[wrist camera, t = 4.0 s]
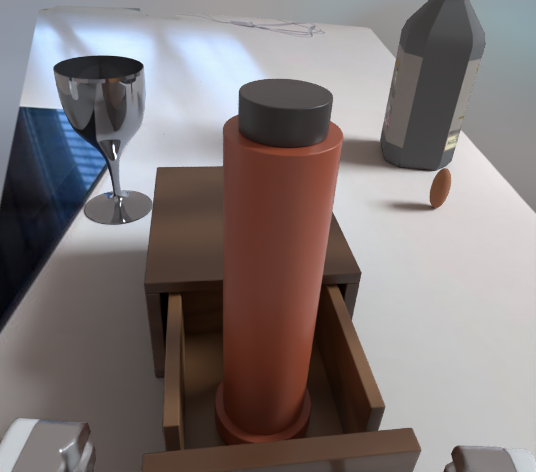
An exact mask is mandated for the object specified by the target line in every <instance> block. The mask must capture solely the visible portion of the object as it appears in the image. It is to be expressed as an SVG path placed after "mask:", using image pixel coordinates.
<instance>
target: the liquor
mask: <svg viewBox="0 0 536 472" xmlns="http://www.w3.org/2000/svg"><path fill="white" fill-rule="evenodd" d="M484 48H485V33H484V31H483V29H482V27H481V25H480V22H479V20H478V18H477V16H476V14H475V12H474V9H473V7H472V5H471V3H470V1H469V0H429V1H428V2H427V3H425V4H424V5H423V6H422V7H421V8H420V9H419V10H418V11H417V12H416V13H414V14H413V15H412V16H411V17H410V18H409V19H408V20H407V21H406V23H405V25H404V27H403V29H402V32H401V37H400V42H399V47H398V52H397V57H396V62H395V67H394V73H393V78H392V83H391V88H390V93H389V98H388V103H387V108H386V113H385V118H384V123H383V128H382V134H381V139H380V140H381V145H382V150H383V154H384V158H385V160H386V161H388V162H390V163H392V164H394V165H396V166H398V167H405V168H415V169H426V170H438V169H440V168H442V167H445V166H447V165H448V164H449V163H450V162H451V160H452V157H453V154H454V150H455V147H456V143H457V140H458V137H459V133H460V130H461V126H462V123H463V119H464V116H465V113H466V109H467V106H468V102H469V99H470V96H471V92H472V89H473V85H474V82H475V78H476V75H477V71H478V68H479V65H480V61H481V58H482V55H483V51H484Z"/></svg>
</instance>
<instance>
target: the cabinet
mask: <svg viewBox="0 0 536 472" xmlns="http://www.w3.org/2000/svg"><path fill="white" fill-rule="evenodd" d="M360 278H361V271H360V269H359V266H358V264H357V262H356V260H355V258H354V256H353V254H352V252H351V250H350V247H349V245H348V243H347V241H346V239H345V237H344V235H343V233H342V231H341V228H340V226H339V224H338V222H337V220H336V218H335V216H334V214H333V212H332V216H331V223H330V229H329V236H328V243H327V249H326V256H325V263H324V270H323V276H322V283H321V285H322V284H337V285H338V288H339V290H340V293H341V295H342V298H343V300H344V303H345V305H346V308H347V310H348V313H349V315H350V318H351V320H352V317H353V312H354V307H355V302H356V297H357V293H358V288H359V282H360ZM144 287H145V293H146V294H145V295H146V303H147V311H148V320H149V328H150V336H151V344H152V353H153V361H154V368H155V376H156V377H165V357H166V336H167V314H168V293H169V292H185V291H205V290H223V166H217V167H158V168H157V173H156V182H155V191H154V200H153V209H152V218H151V227H150V235H149V244H148V253H147V262H146V271H145V280H144Z"/></svg>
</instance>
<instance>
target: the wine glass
mask: <svg viewBox="0 0 536 472" xmlns="http://www.w3.org/2000/svg"><path fill="white" fill-rule="evenodd" d="M54 75H55V81H56V86H57V90H58V94H59V98H60V101H61V104H62V107H63V109H64V112H65V114H66V116H67V119H68V121H69V123H70V124H71V126H72V128H73V129H74V131H75V132H76V133H77V134H78V135H79V136H81V137H82V138H83V139H84V140H86V141H87V142H88V143H90V144H91V145H92V146H93V147H95V148H96V149H97V150H98V151H99V152H100V153H101V154H102V156H103V157H104V159H105V160H106V163H107V166H108V169H109V172H110V176H111V180H112V186H113V191H111V192H107V193H104V194H101V195H98V196H96V197H94V198H93V199H91V200H90V201H89V202H88V203H87V205H86V207H85V213H86V215H87V216H88V217H89V218H90V219H92V220H93V221H96V222H99V223H104V224H123V223H129V222H133V221H135V220H138V219H140V218H142V217H144V216H145V215H147V214H148V213H149V212H150V210H151V209H152V201H151V199H150V198H149V197H148V196H146V195H144V194H142V193H140V192H136V191H129V190H121V189H120V181H119V161H120V156H121V154H122V151H123V150H124V148H125V146H126V145H127V144H128V143H129V141H130V140H131V139H132V138H133V136H134V135H135V134H136V133H137V131H138V130H139V128H140V126H141V124H142V121H143V116H144V110H145V96H146V91H145V74H144V66H143V64H142V63H141V62H139V61H137V60H134V59H130V58H126V57H119V56H85V57H77V58H72V59H68V60H64V61H62V62H59V63H57V64H56V65H55V66H54Z"/></svg>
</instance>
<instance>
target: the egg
mask: <svg viewBox="0 0 536 472" xmlns="http://www.w3.org/2000/svg"><path fill="white" fill-rule="evenodd" d="M450 186H451V174H450V171H449V170H448V169H446V168H444V169H442V170H440V171H439V172H438V173H437V175H436V176H435V178H434V180H433V183H432V186H431V190H430V203H431V205H432V206H433V207H434V208H438V207H440V206H441V205H442V204H443V203H444V201H445V200H446V198H447V196H448V193H449V190H450Z"/></svg>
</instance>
